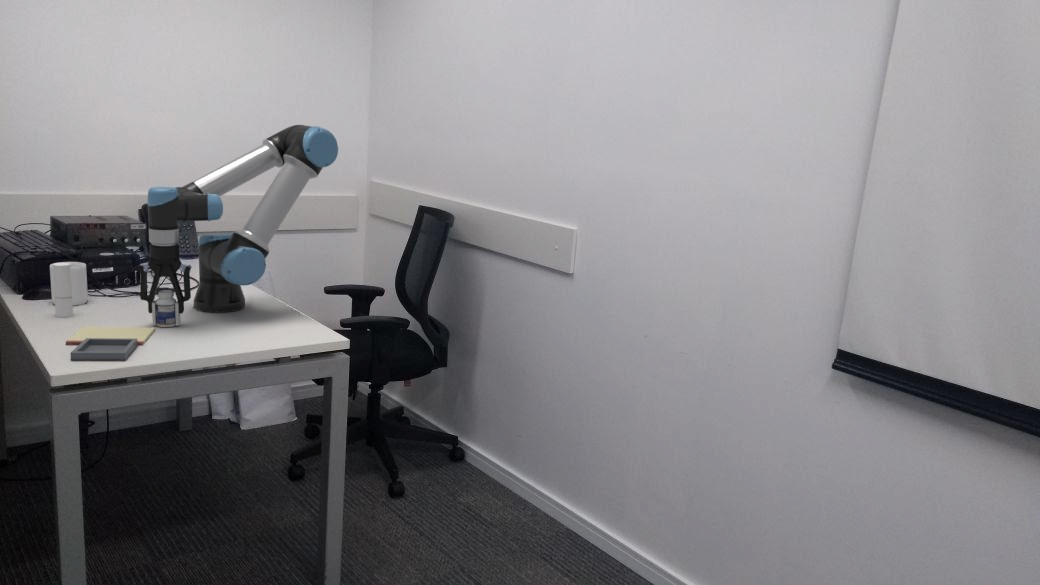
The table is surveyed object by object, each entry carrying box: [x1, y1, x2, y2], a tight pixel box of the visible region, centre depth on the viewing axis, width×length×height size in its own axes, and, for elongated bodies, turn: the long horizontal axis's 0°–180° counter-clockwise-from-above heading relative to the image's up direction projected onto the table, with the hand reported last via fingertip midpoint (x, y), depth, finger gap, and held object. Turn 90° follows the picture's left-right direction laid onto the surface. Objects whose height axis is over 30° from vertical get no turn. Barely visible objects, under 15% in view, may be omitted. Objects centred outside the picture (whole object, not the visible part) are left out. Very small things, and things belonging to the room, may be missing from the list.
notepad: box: [65, 326, 156, 346], centre depth 206 cm, size 18×14×1 cm
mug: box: [49, 261, 89, 307], centre depth 235 cm, size 10×12×12 cm
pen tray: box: [70, 338, 139, 362], centre depth 193 cm, size 12×12×2 cm
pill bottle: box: [155, 289, 177, 328], centre depth 218 cm, size 5×5×10 cm
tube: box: [52, 262, 74, 318], centre depth 220 cm, size 4×4×15 cm
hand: (166, 324), depth 219 cm, fingers closed on pill bottle, 5 cm apart
